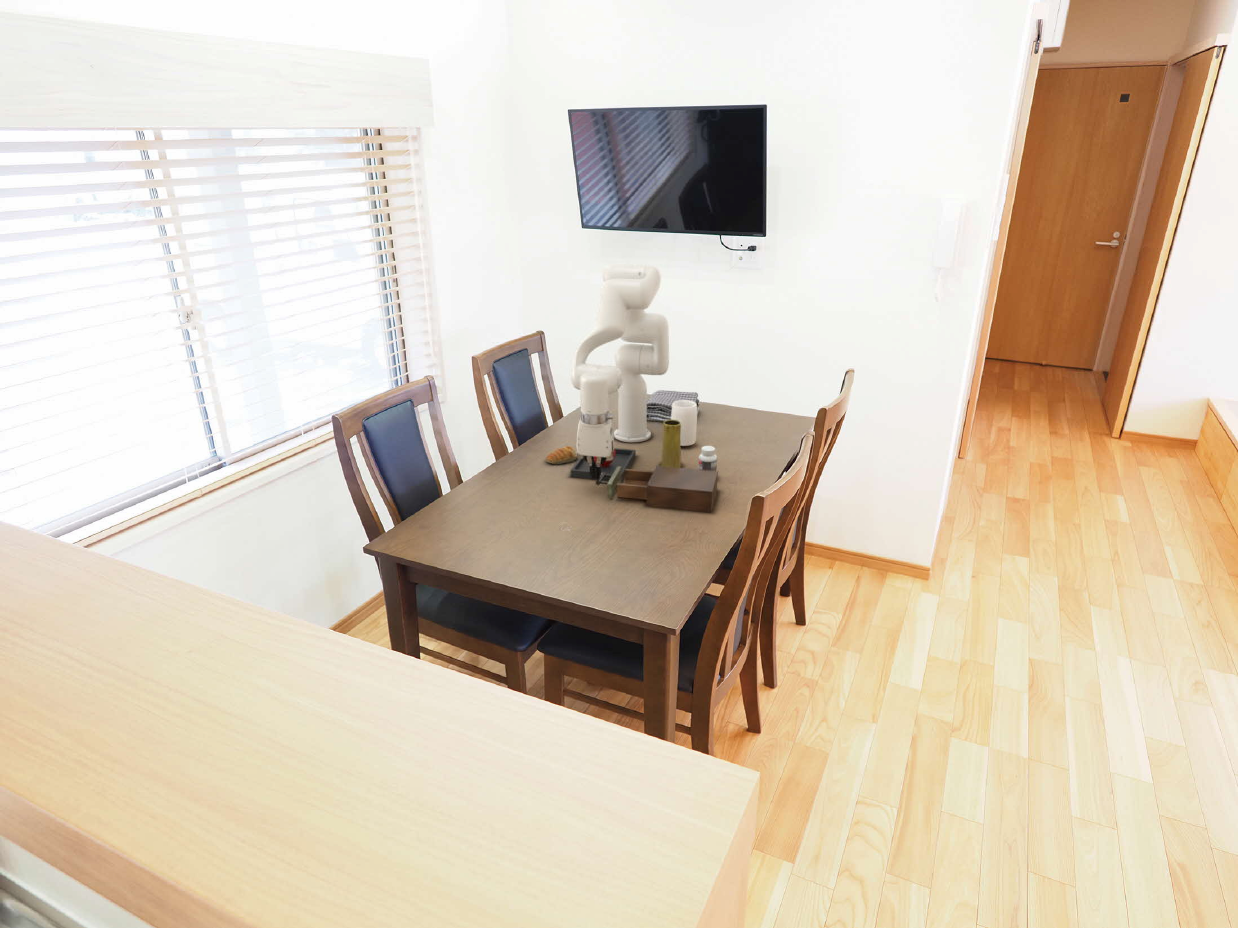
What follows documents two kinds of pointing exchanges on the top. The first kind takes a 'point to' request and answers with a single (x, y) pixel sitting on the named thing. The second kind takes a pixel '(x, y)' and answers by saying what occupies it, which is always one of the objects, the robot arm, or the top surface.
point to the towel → (666, 403)
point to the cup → (686, 420)
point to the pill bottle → (707, 459)
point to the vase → (671, 444)
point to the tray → (621, 459)
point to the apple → (606, 461)
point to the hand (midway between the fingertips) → (595, 477)
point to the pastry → (562, 455)
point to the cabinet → (682, 489)
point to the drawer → (627, 483)
